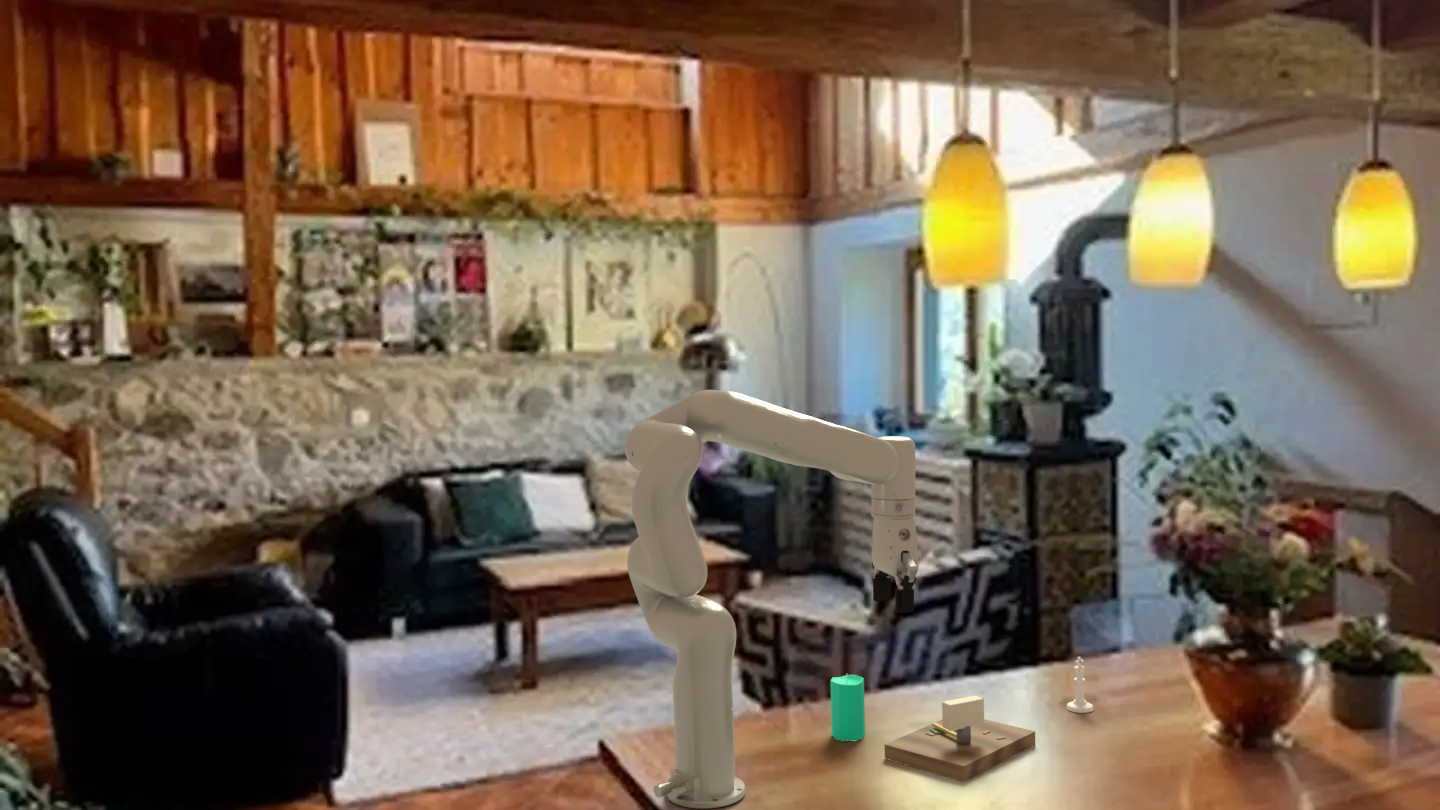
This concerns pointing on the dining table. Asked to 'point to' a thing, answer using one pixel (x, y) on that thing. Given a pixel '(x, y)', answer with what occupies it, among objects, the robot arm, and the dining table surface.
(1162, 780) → the dining table surface
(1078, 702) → the chess piece
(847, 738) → the candle
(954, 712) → the wooden toy mallet
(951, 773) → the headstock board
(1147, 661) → the dining table surface
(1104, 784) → the dining table surface
